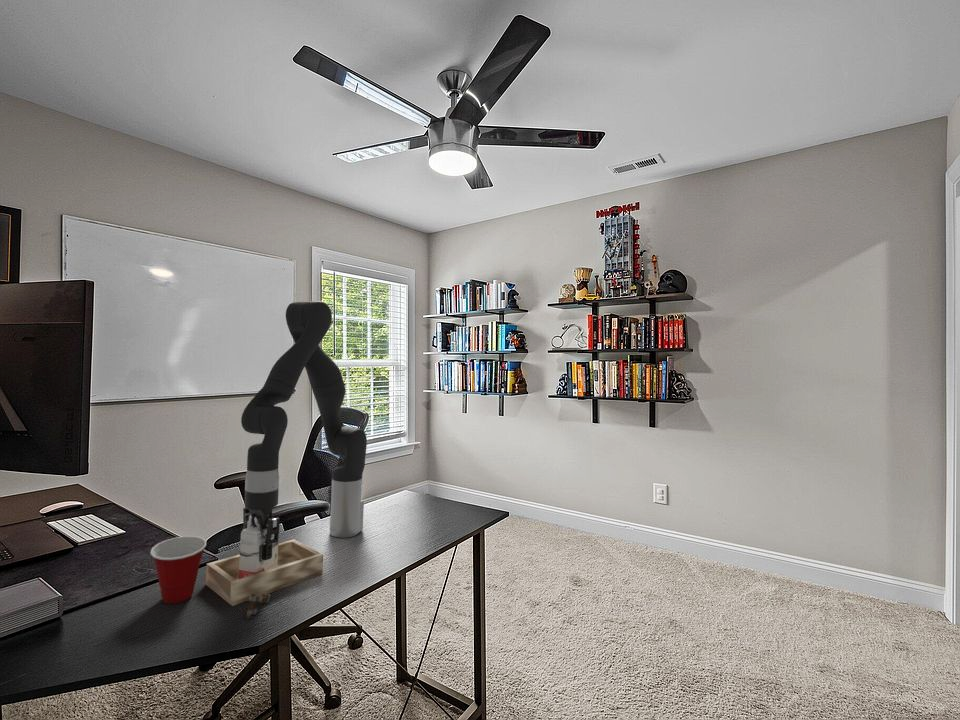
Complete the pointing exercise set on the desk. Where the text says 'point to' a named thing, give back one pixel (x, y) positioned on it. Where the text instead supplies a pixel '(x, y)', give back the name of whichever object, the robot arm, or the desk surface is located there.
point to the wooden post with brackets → (253, 598)
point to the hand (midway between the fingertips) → (259, 554)
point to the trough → (264, 573)
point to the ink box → (254, 553)
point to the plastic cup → (178, 566)
